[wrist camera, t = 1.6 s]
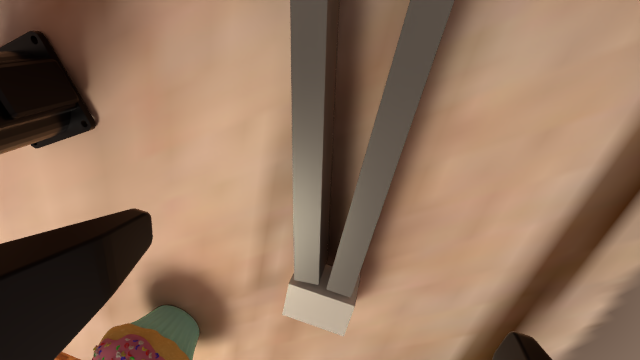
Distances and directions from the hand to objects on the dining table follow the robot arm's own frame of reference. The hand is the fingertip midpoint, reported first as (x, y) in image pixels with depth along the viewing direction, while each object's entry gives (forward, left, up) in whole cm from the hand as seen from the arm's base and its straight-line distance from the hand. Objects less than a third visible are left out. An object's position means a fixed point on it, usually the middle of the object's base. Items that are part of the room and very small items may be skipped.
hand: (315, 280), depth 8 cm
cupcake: (-22, -14, -12) cm, 29 cm away
